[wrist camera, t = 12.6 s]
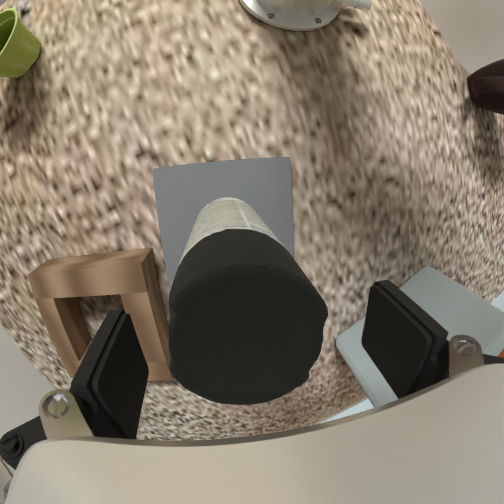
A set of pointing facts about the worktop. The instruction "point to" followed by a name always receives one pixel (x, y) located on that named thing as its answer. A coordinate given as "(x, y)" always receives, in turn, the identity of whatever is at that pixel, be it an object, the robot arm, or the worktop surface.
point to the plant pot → (16, 45)
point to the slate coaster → (220, 186)
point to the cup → (488, 87)
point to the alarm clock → (438, 307)
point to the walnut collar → (95, 284)
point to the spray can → (241, 310)
